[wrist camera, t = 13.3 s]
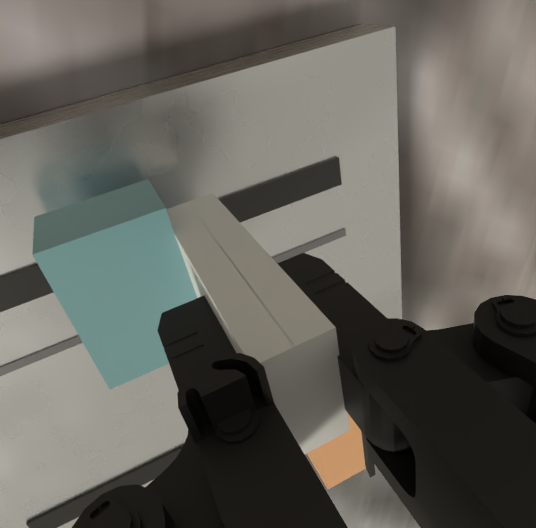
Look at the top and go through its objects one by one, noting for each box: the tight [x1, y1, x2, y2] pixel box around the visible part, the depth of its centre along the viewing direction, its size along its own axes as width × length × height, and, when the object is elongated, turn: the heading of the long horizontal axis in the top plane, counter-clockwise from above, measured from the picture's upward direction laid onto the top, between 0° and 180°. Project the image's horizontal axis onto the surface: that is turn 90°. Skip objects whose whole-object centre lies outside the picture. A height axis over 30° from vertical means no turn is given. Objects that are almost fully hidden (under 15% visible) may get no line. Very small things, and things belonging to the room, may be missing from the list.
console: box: [0, 24, 402, 528], centre depth 17 cm, size 20×18×2 cm
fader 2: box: [307, 414, 366, 489], centre depth 19 cm, size 3×4×3 cm
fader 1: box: [32, 179, 197, 389], centre depth 12 cm, size 3×4×3 cm
